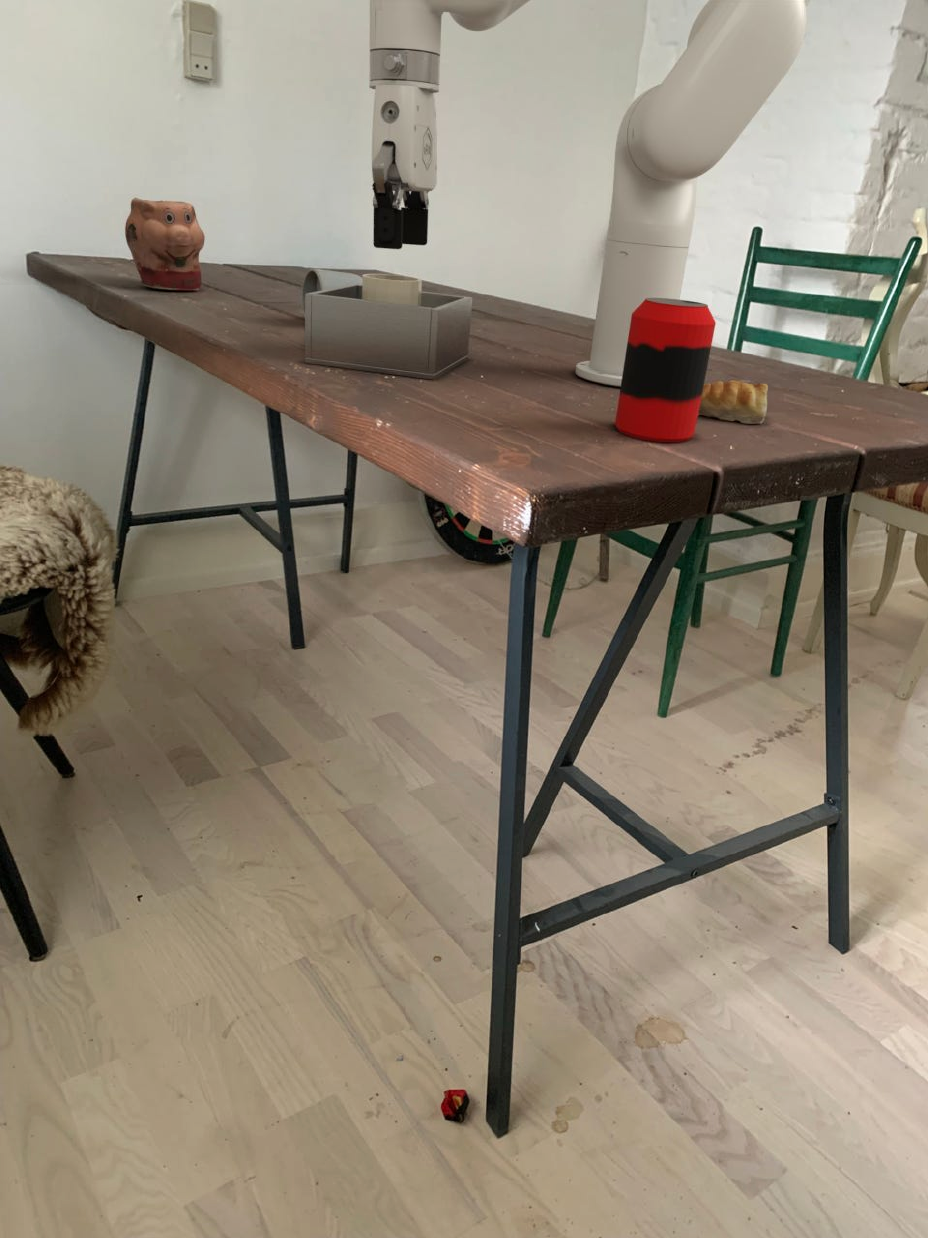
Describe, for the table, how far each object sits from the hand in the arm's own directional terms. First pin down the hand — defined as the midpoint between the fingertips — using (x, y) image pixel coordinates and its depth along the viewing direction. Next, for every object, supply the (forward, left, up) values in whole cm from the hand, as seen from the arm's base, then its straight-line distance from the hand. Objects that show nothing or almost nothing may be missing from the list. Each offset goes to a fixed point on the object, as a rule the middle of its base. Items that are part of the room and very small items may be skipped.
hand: (401, 246), depth 105 cm
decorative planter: (+55, -40, -13) cm, 69 cm away
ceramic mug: (+18, -23, -13) cm, 32 cm away
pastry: (-39, +6, -13) cm, 42 cm away
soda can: (-32, +19, -13) cm, 40 cm away
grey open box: (+1, 0, -13) cm, 13 cm away
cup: (+1, 0, -13) cm, 12 cm away
